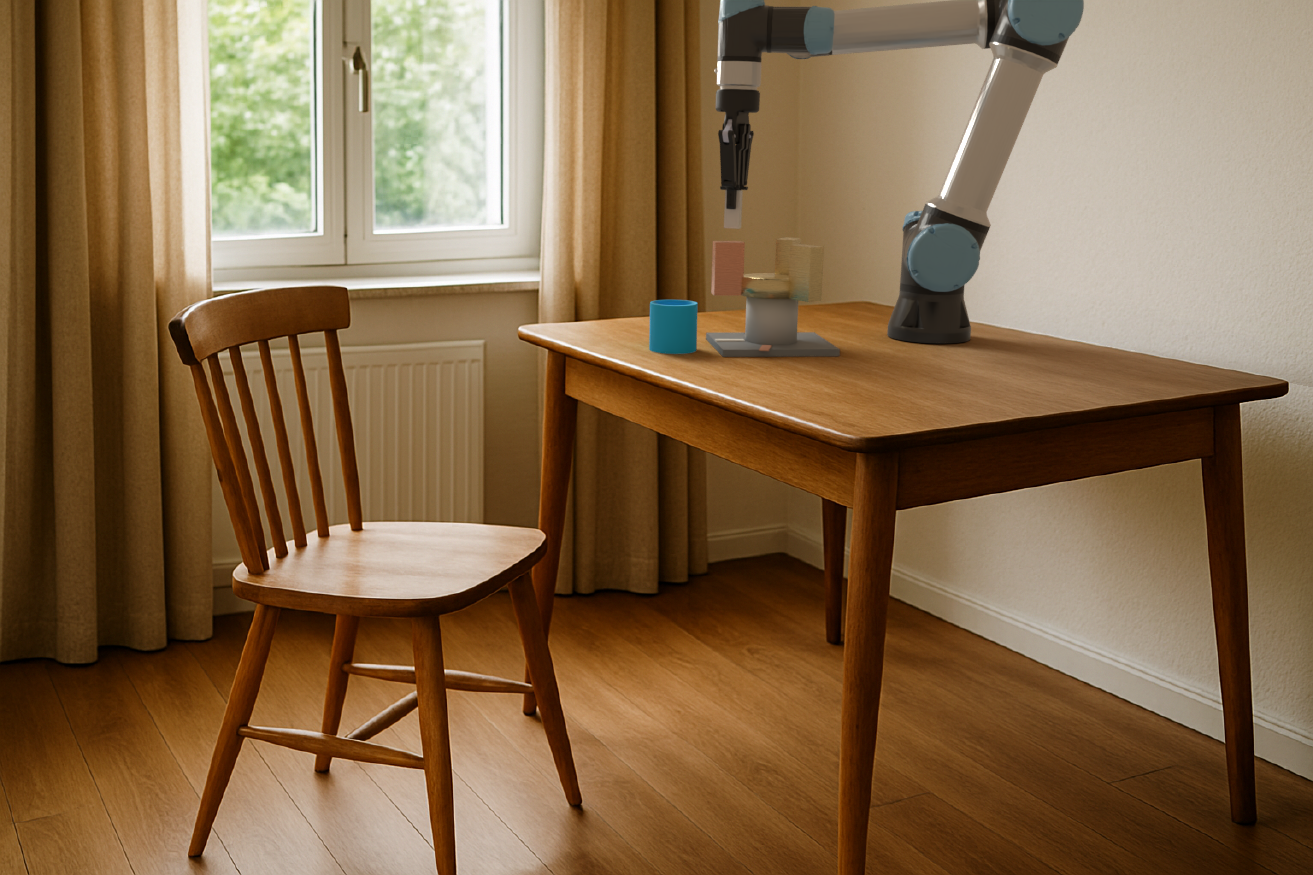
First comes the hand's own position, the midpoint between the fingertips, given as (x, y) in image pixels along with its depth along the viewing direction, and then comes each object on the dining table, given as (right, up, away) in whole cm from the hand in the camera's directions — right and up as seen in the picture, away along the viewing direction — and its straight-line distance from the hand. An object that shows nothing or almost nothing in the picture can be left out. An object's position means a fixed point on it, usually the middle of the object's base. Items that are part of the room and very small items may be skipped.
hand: (732, 228), depth 219 cm
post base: (+7, -21, 0) cm, 22 cm away
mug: (-11, -21, -2) cm, 24 cm away
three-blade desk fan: (+5, -12, -3) cm, 13 cm away
